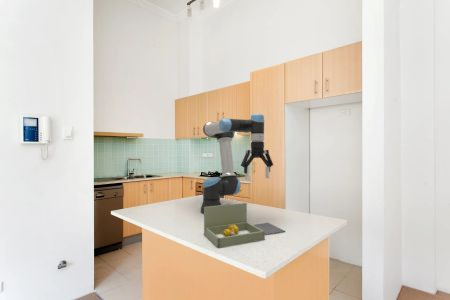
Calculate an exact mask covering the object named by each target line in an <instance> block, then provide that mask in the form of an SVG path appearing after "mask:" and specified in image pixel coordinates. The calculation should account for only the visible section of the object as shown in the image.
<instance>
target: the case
mask: <svg viewBox="0 0 450 300" xmlns="http://www.w3.org/2000/svg"><path fill="white" fill-rule="evenodd" d="M247 205H248V203H247V202H242V203H241V202H240V203H230V201H229V202H222V203H221V205H219V206H209V207H204V214H203V236H205V238H207V239H208V240H209V241H210V242H211V243H212V244H213V245H214V246H215V247H216V248H217V249H221V248H227V247H231V246H237V245H238V246H239V245H244V244H248V243H255V242H259V241H260V242H261V241H266V240H265V239H266V238H265V237H266V235H265V231H263V230H261V229H259V228H257V227H256V226H254V225H255V224H252V223H250V222H248V221H247V219H248V218H247V216H248V215H247V213H248V209H247V208H248V206H247ZM231 225H236V226H237V228H238V232H241V231H242V232H243V231H247V232H248V233H241V234H238V235H234V236H231V235H230V236H228V237H225V236H222V237H219V236H218V235H223V231H224V230H225V229H228V228H229V226H231Z"/></svg>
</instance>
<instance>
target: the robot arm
mask: <svg viewBox="0 0 450 300" xmlns="http://www.w3.org/2000/svg"><path fill="white" fill-rule="evenodd" d="M202 132H203V134H204V135H205V136H206V137H208V138H212V139H216V143H217V142H218V144H219V153H220V163H221V164H220V165H221V176H220V177H218V176H217V177H216V176H213V177H208V178H205V179H204V180H203V181H202V203H201V207H200V213H201V214H203V215H204V207H209V206H219V205H222V203H221V197H224V196H225V197H226V196H235V195H237V194H239V193H240V190H241V180H240V178H238V176H237V174H236V173H235V169H234V161H233V153H232V152H233V151H232V143H231V142H232V141H233V138H234V137H235V132H236V133H246V134H247V133H250V141H251V142H250V149H246V150H245V155H244V157H243V159H242V161H241V163H240V166H241V167H243V173H244V174H245V175H244V179H245V180H250V176H249V175H250V168H249V166H250V164H251V163H252V162H253V160H254V159H261V160H262V162H263V163H264V165H265V179H270V173H271V168H272V167H273V166H274V163H273V161H272V158H271V156H270V152H269V149H265V142H264V141H265V115H264V114H263V113H262V114H261V113H253V114H251V115H250V119H241V118H225V117H224V118H221V119H220V120H219V121H214V122H213V121H210V122H209V121H208V122H206V123H205V124H204V125H203V127H202Z"/></svg>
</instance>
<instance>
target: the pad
mask: <svg viewBox="0 0 450 300" xmlns="http://www.w3.org/2000/svg"><path fill="white" fill-rule="evenodd" d="M253 225H254V226H256V227H257V228H259V229H261V230H263V231H265V236H271V235H276V234H282V233H286V230H284V229H282V228H280V227H278V226H276V225H274V224H271V223H269V222H263V223H256V224H253Z"/></svg>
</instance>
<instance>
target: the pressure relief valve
mask: <svg viewBox="0 0 450 300" xmlns="http://www.w3.org/2000/svg"><path fill="white" fill-rule="evenodd" d="M222 235H223V237H228V236H234V235H239V231H238V228H237V226H236V225H231V226H229V228H228V229H225V230H224V231H223V234H222Z"/></svg>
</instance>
